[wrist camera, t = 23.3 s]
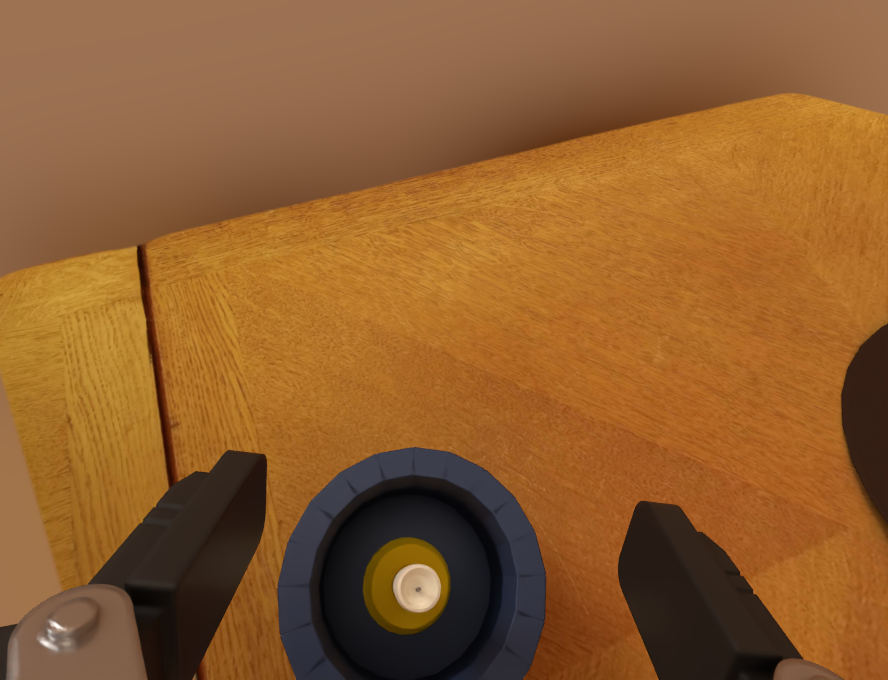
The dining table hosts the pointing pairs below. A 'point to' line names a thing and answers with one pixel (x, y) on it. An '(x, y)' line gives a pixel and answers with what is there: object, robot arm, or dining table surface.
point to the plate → (869, 416)
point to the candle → (406, 585)
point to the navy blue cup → (455, 537)
